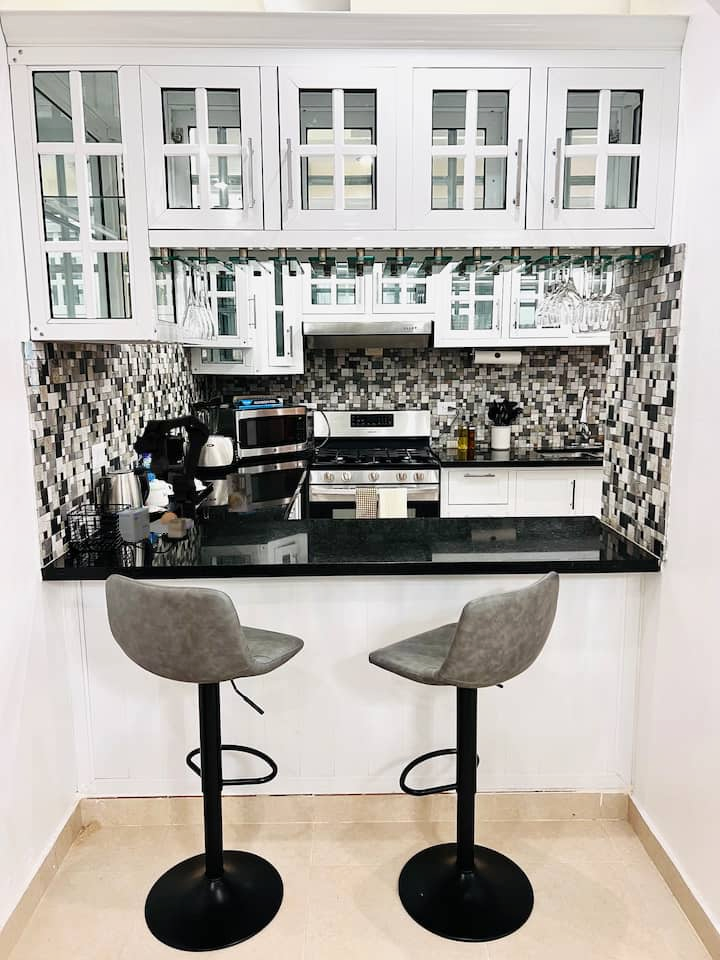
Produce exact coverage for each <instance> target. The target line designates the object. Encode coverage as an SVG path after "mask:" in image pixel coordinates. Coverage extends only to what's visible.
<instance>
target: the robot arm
mask: <svg viewBox="0 0 720 960" xmlns="http://www.w3.org/2000/svg"><path fill="white" fill-rule="evenodd" d="M179 428H184V431H185V432H186V433H187V440H188V443H189V447H188V452H187V456H186V460H185V464H184V465H174V466H173V467H170V461H169V459H168V455H167V441H168V440H169V441H170V437H169V436H168V435H167V434H168V433H170V432H171V431H172V430H174V429H179ZM210 437H211V430H210V429H209V427H208V426H207V425H206V424H205V423H204V422H202V421H201V420H199V419H197V417H196V416H194V415H193V414H192V415H191V414H187V415H186V414H185V415H182V416H178V417H173V418H168V419H149V420H148V421H147V425H146V426H145V429H144V430H143V432H142V435H141V436H137V439H136V441H135V442H134V445H133V450H134V452H135V453H136V454H137V455H139V456H141V455H142V456H143V455H150V454H151V458H150V463H149V468H147V466H135V468H134V469H133V476H137V478H140V479H141V481H142V482H143V484H144V487H145V489H146V491H147V494H150V492H151V491H150V490H151V489H150V483H149V482H150V481H149V475H148V474H151V475H154V474H159V475H160V474H166V473H173V474H172V489H171V490H172V493H173V497H174V498H175V503H176V504H180V505H181V507H180V508H181V517H182V518H186V519H193V520H195V519H198V518H199V517H200V515H197V505H199V504H201V499H202V497H200V494H198V493H197V485H196V481H195V480H196V475H197V471H198V466H199V461H200V458H201V453H202V450H203V447H204V446H205V445H206V444H207V443H208V440H209V438H210ZM180 477H181V478H180ZM179 478H180V480H179Z"/></svg>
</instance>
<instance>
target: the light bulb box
mask: <svg viewBox="0 0 720 960" xmlns="http://www.w3.org/2000/svg"><path fill="white" fill-rule="evenodd" d="M117 514H118V515H119V531H120V534H121V537H122V538H123V540H125V541H127V542H133V543H132V544H136V543H138V541H139V542H141V541H144V540H146V539H149V538H150V537H151V534H150V524H151V523H150V510H149V507H131V508H128V509H126V510H122V511H120V512H119V511H118V512H116V515H117ZM145 538H146V539H145ZM143 539H144V540H143ZM140 540H141V541H140ZM135 542H136V543H135Z"/></svg>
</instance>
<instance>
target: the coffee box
mask: <svg viewBox="0 0 720 960" xmlns="http://www.w3.org/2000/svg"><path fill="white" fill-rule="evenodd" d="M226 487H227V488H226V490H227V505H228V506H227V509H228V513H233V512H234V513H235V512H236V513H249V512H251V511H253V509H254V507H253V491H252V488H253V487H252V473H251V472H231V473H228V474H226Z"/></svg>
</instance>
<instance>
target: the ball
mask: <svg viewBox="0 0 720 960" xmlns="http://www.w3.org/2000/svg"><path fill="white" fill-rule="evenodd" d="M172 518H178V516H177V514H176V513H174V512H166V513H164V514H163V515H162V516H161V518H160V519H161V522H162V525H167V521H168V520H170V519H172Z"/></svg>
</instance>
